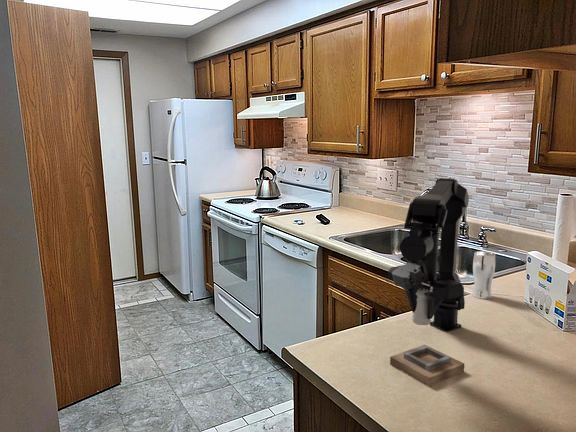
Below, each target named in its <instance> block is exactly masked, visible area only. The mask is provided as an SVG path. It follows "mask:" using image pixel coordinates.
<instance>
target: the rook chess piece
mask: <svg viewBox="0 0 576 432" xmlns="http://www.w3.org/2000/svg"><path fill="white" fill-rule="evenodd" d="M429 291H430V290H429V289H426V288H422V290H421V288H420V289H417V292H416V295H417V299H416V300H417V306H416V310H415V311H414V312H415V313H413V312H412V318H411V321H412V323H414V324H416V325H419V326H428V325H430V323H431V322H432V320H431V319H428V318H427V297H426V296H425V295H424V293H427V292H429Z"/></svg>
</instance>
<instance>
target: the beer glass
mask: <svg viewBox="0 0 576 432" xmlns="http://www.w3.org/2000/svg"><path fill="white" fill-rule="evenodd" d="M473 255H474V256H473V261H472V273H473V274H472V275H473V282H474V284H473V285H474V286H473V290H472V296H473V297H474V298H477V299H481V300H489V299H491V298H492V283H493V281H494V275H495V271H496V254H495V253H494V252H492V251H486V250H485V251H484V250H477V251H474V254H473Z"/></svg>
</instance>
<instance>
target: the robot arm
mask: <svg viewBox="0 0 576 432" xmlns="http://www.w3.org/2000/svg"><path fill="white" fill-rule="evenodd" d="M469 198H470V197H469V193H468V189H467V188H466V187H465V186H463V185H461V184H460V183H458V180H457V179H455V178H448V177H447V178H443V177H439V178H437V179H436V181H435V184H434V185H433V187H432V188H431V189H430V190H429V191H428V192H427V193H426V194H422V195H417V196H416V197H414V198H413V199H412V200H411V202H410V203H409V205H408V210H407V214H406V218H405V220H404V221H405V222H404V226H403V227H404V230H405V229H406V230H409V233H408V235H406V236H405V237H404V238H403V239H402V240H401V242H400V244H399V252H400V254H401V255H402V257H404V259H406V260H407V261H406V263H404V264H402V265H397V266H391V267H390V268H389V269H388V271H387V280H390V281H393V283H394V285H395V286H396V287H398V286H399V287H401V288H402V289H403V290H404V291H405V294H406V295H407V299H408V303H409V305H410V309H411V311H412V314H413V313H415V312H414V311H415V310H416V306H417V300H416V299H417V295H416V292H417V289H420V288H421V290H423V286H426V287H429V290H428V291H429V292H427V293H424V295H425V296H426V297H427V318H428V319H430V320H431V319H433V321H431V323H430V324H429V325H431V326H433V327H435V328H438V329H439V330H440V329H441V331H442V330H443V331H444V332H451V331H453V330H456V329H460V328H462V325H463V324H460V323H458V315H459V314H458V313H459V311H461V310H465V301H466V300H465V287H464V284H463V283H462V282H461V280H460V278H459V276H458V274H457V273H456V271H457V270H456V269H457V256H458V255H457V254H458V253H457V252H458V251H457V250H458V238H459V237H458V236H459V223H460V220H461V219H462V217H463V216H464V215H465V214H466V210H467V208H468V207H469V201H470V199H469ZM439 237H440V238H439ZM439 241H440V245H439ZM439 246H440V247H439ZM438 262H439V263H438Z"/></svg>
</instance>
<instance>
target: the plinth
mask: <svg viewBox="0 0 576 432" xmlns="http://www.w3.org/2000/svg"><path fill="white" fill-rule="evenodd" d="M389 364H390V365H391V366H392V367H394V368H395V369H398V370H399V371H401V372H402V373H404V374H406V375H408V376H409V377H412V378H413V379H416V380H417V381H419V382H421V383H422V384H424V385H425V386H427V387H431V386H433V385H436V384H438V383H441V382H442V381H445V380H447V379H450V378H452V377H454V376H457V375H459V374H461V373H464V372H465V362H462V361H460V360H458V359H456V358H453V357H451V356H449V355H448V354H445V353H443V352H442V351H440V350H436V349H435V348H432V347H430V346H428V345H426V344H422V345H419V346H417V347H414V348H411V349H409V350H405V351H403V352H399V353H397V354H395V355H391V356H389Z"/></svg>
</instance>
